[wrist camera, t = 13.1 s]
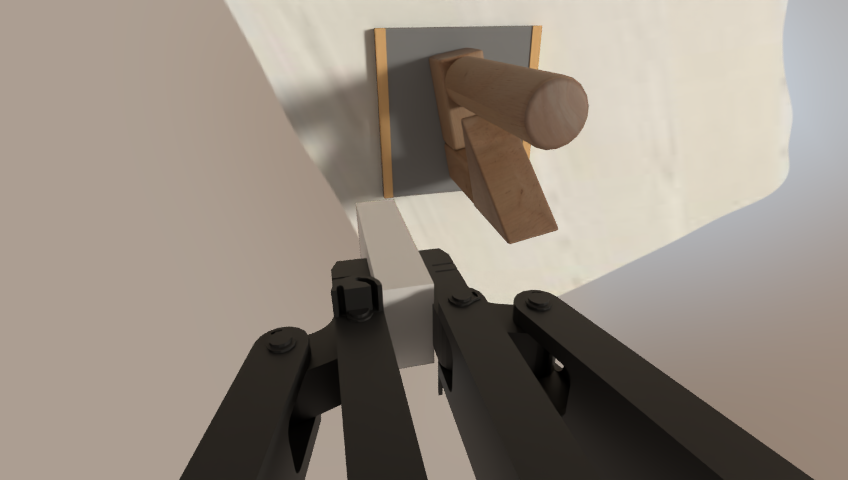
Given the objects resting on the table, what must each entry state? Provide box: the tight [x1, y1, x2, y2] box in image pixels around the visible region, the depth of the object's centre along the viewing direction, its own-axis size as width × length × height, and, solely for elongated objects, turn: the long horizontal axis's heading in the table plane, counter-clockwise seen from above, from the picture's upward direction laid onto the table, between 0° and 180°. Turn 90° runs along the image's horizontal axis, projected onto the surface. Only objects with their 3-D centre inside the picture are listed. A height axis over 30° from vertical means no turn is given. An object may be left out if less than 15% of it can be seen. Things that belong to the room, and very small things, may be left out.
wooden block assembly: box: [429, 47, 589, 244], centre depth 31 cm, size 4×11×18 cm, turn 12°
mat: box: [374, 26, 542, 198], centre depth 39 cm, size 14×14×1 cm
